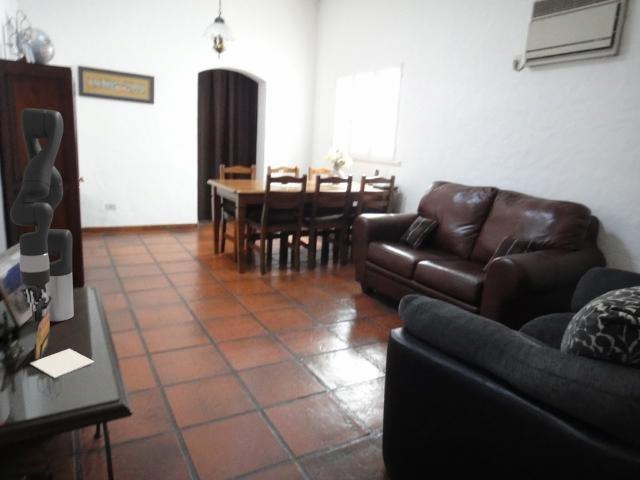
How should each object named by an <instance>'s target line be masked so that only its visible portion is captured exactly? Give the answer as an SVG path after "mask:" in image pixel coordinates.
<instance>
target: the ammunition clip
mask: <svg viewBox="0 0 640 480" xmlns="http://www.w3.org/2000/svg"><path fill="white" fill-rule="evenodd" d="M50 322H51V321H49V312H48V311H47V313H46V314H45V316H44V315H43V316H42V320H41V321H40V322H38V323H39V324H38V327H37V332H36V333H37V334H36V339H35V343H34V352H33V353H34V354H33V361H36V360H39V359H42V358H43V356H44V355H45V352H46V351H47V349H48V347H49V345H50V334H51V333H50V332H51V331H50Z"/></svg>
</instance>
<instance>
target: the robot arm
mask: <svg viewBox="0 0 640 480" xmlns="http://www.w3.org/2000/svg"><path fill="white" fill-rule="evenodd" d="M20 123H21V124H20V125H21V131H22V135H23V136H22V137H23V141H24V145H25V150H26V156H27V162H28V163H27V164H26V166H25V168H24V171H23V177H22V183H21V189H20V190H19V193H18V195H17V196H16V199H15V200H14V202H13V204H12V206H11V207H10V211H9V217H10V220H11V222H12V223H13V224H14V225H16V226H20V227H21V226H22V227H26V226H27V227H35V231H33V232H27V233H26V232H25V233H23V234H21V235H20V236H19V241H18V242H19V253H20V254H19V276H20V284H21V285H23V286H25V288H21V294H22V295H23V296H22V297H23V299H24V301H25V303H26V306H27V307H29V308H30V311H31V316H32V317H31V318H32V322H34V323H40V322H41V320H42V319H43V317H44V316H45V314H46V313H47V311H48V312H49V322H62V321H67V320H69V319H71V318H73V317H74V314H75V313H74V312H75V311H74V290H73V289H74V288H73V287H74V285H73V282H74V281H73V235H72V232H71V231H70V230H69V229H55V228H54V229H53V228H50V227H51V224H52V221H53V218H54V211H55V210H56V209H57V207H58V205H59V204H60V203H61V201H62V199H63V197H64V187H63V178H62V176H61V173H60V171H58V169H57V168H56V166H54V164H55V161H56V158H57V155H58V152H59V149H60V145H61V142H62V138H63V134H64V119H63V116H62V114H61V113H60V112H59V111H57V110H54V109H53V110H52V109H43V108H32V107H31V108H30V107H29V108H28V107H26V108H23V109H22V111H21V114H20ZM39 140H46V142H45V145H44V146H42V147H41V144H40V141H39ZM49 256H60V258H58V259H57V260H54V261H51V262H50V257H49Z"/></svg>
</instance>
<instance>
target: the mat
mask: <svg viewBox="0 0 640 480" xmlns="http://www.w3.org/2000/svg"><path fill="white" fill-rule="evenodd" d="M94 363H95V360H92V359H90V358H88V357H86V356H85V355H83V354H80V353H79V352H77V351H74V349H72V348H67V349H64V350H61V351H59V352H56V353H54V354H53V353H52V354H51V355H48V356H45V357H42V358H41V359H39V360H33V361H31V362H29V365H31V366H32V367H34V368H36V369H37V370H39V371H41V372H42V373H44V374H45V375H47V376H50V377H51V378H53V379H57V378H61V377H62V376H65V375H68V374H69V373H72V372H75V371H77V370H79V369H82V368H85V367H88V366H89V365H92V364H94Z"/></svg>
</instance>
